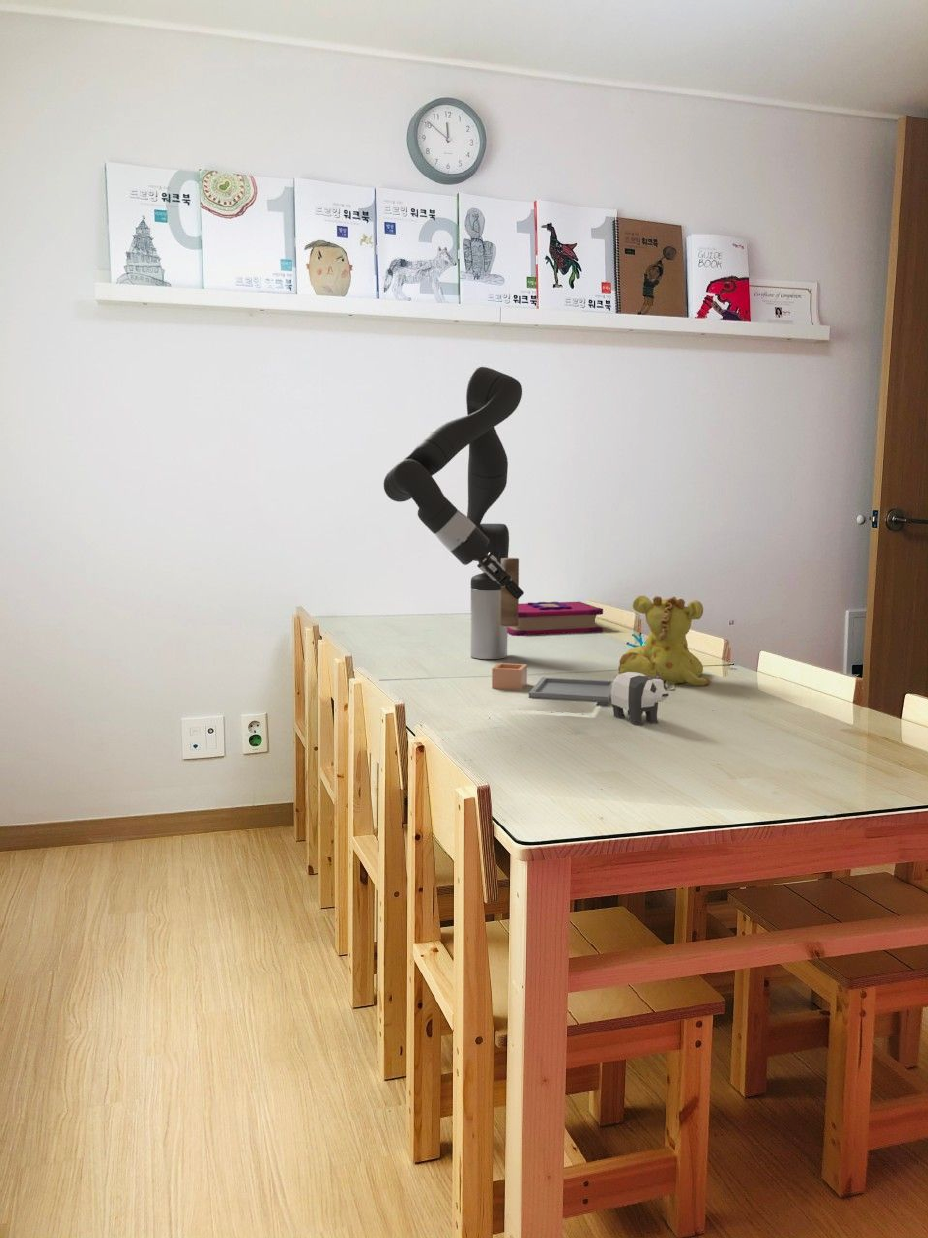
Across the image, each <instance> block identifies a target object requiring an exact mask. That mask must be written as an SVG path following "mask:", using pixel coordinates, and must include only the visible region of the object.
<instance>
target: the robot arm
mask: <svg viewBox="0 0 928 1238" xmlns="http://www.w3.org/2000/svg"><path fill="white" fill-rule="evenodd" d="M466 386H467V387H466V394H465V396H466V398H465V399H466V400H465V401H466V414H467V415H465V416H462V417H459V418H458V417H457V418H456V419H453V420H450V421H447V422H445V423H442V424H440V425H438V426H437V427H435V428H434V429H433V430H432V431H430V433H429V434H428V435H426V436H425V438H423V439H422V440H421V441H420V442H419V443H418V444H417V445H416V447H415V448H414V450H412V451H411V453H410V454H408V455H407V456H405V458H404V459H402V460H401V461H399V462H398V463H397V464H396V465H395V466H394V467H392V468H391V470H389V471H388V472H387V474H386V475H385V477H384V478H383V479H384V480H383V489H384V490H383V491H384V494H386V496H387V497H388V498H389V499H390V500H392V501H395V502H400V503H401V502H406V501H409V500H410V499H412V501H414V503H415V504H416V506H417V507H418V510H417V517H418V519H419V520H420V521H421V522H422V523H423V524H424V525H425V526H426V528H428V529H429V530H430V531H431V532H432V533H433V534H434V535H435V536H436V538H437V539H438V540H439V541H440V543H441V544H442V545H443V546H444V547H445V548H446V549H447V550H448V551H449V552H450V553H451V554H452V555H453V556H454V557H455V558H456V559H457V560H458V561H459V562H460V563H461V564H462V565H463V566H466V565H469V564H471V563H472V562H473V561H474V562H475V561H476V562H478V564H477V565H476V567H477V568H478V569H479V570H481V571H482V572H481V573H478V574H476V575H473V576H472V577H471V578H470V657H471V658H473V659H480V660H498V659H504V658H505V659H506V658H507V657H508V633H507V626H501V625H500V602H501V586H502V587H504V588H506V589H507V590H508V591H509V592H510V593H511V594H512V595H513V596H514V597H515V598H516V599H520V598H521V597H522V596H523V595H524V591H523V589H522V588H521V587H520V585H519V586H518V585H517V584H516V583H515V582H514V581H513V580H512V578H511V576H510V575H508V574H507V573H506V572H505V568H504V567H503V566H502V565H501V558H509V552H510V549H509V548H510V532H509V528H508V526H507V525H506V524H505V523H482V521H483V518H484V517H485V514H486V513H487V511H488V510H489V509H490V508H491V507H492V505H494V504H495V502H496V501H498V499H499V498H500V496H501V495H502V494H503V492H504V491H505V488H506V487H507V482H508V469H509V468H508V467H509V463H508V456H507V453H506V450H505V448H504V445H503V443H502V442H501V439H500V437H499V435H498V433H497V431H496V429H495V427H497V426H498V425H499V424H501V423H502V422H503V421H505V420H506V419H508V418H509V417H510V416H512V414H513V413H514V412H515V411H516V410H517V409H518V407H519V405H520V402H521V401H522V397H523V388H522V387H523V386H522V384H521V383H520V381H519V380H518V379H516V378H514V377H513V376H510V375H508V374H505V373H503V372H500V371H498V370H495V369H493V368H490V367H486V366H479V367H478V368H476V369H474V370H473V372H472V373H471V375H470V377H469V379H468V382H467V385H466ZM467 446H468V462H467V511H466V515H465V514H464V513H463V512H461V511H460V510H458V509H459V508H458V507H456V506H455V505H454V503H452V502H451V500H449V499H448V497H446V496H445V495H444V494H443V491H442V490H441V488H440V486H439V485H438V483H437V482H436V480H435V479H434V477H433V476H434V475H435V474H437V473H438V472H440V471H441V470H442V469H444V467H446V466H447V464H449V463H450V462H451V460H453V459H454V458H455V457H456V456H457V455H458V454H459V453H460V452H461V451H462V450H463V449H464V448H466V447H467ZM502 574H504V575H505V577H504V578H503V579H502V580H501V575H502Z"/></svg>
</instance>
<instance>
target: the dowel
mask: <svg viewBox="0 0 928 1238" xmlns="http://www.w3.org/2000/svg"><path fill="white" fill-rule="evenodd" d="M501 565H502V566H503V567H504V568H505V572H506V573H507V574H508V575H510V576H511V578H512V580H513V581H514V582H515V583H516V584H517V585H518V586H519V587H520V580H519V579H520V558H517V557H508V558H501ZM504 577H505V575H504V574H502V575H501V580H502V579H503V578H504ZM519 599H520V598H519ZM519 599H516V598H515V597H514V596H513V595H512V594H511V593H510V592H509V591H508V590H507V589H506V588H504V587H502V586H501V602H500V625H501V626H518V609H519V604H520V603H519V602H520V601H519Z"/></svg>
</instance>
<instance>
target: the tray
mask: <svg viewBox="0 0 928 1238" xmlns="http://www.w3.org/2000/svg"><path fill="white" fill-rule="evenodd" d="M613 681H614V680H605V679H603V680H602V679H584V678H583V679H582V678H564V677H563V678H562V677H546V676H545V677H544V676H543V677H541V678H540V680H539V681H538V682H537V683H536V684H535V685H534V686H533V687H532V688H531V689H530V690H529V692H528V698H530V699H546V700H547V699H548V700H562V701H563V700H565V701H578V702H579V701H580V702H581V701H582V702H583V701H584V702H597V703H596V706H607V707H608V706H610V703H611V688H612V683H613Z"/></svg>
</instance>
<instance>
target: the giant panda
mask: <svg viewBox="0 0 928 1238" xmlns="http://www.w3.org/2000/svg"><path fill="white" fill-rule="evenodd" d="M659 677H660V675H656V676H655V677H654V679H652V677H651V676H648V677H647V676H645V675H643V674H641V673H637V672H626V673H622V674H619V673H618V675H616V677H615V678H614V680H612V681H613V683H612V688H611V701H610V703H611V706H612V711H613V712H612V713H613V717H615V718H618V719H625V718H626V714H625V712H624V710H627V715H628V716H629V717H630V718H629V719H630V723H631V724H632V725H635V726H637V725H640V726H644V722H643V720H642V716H643V714H644V712H645V722H646V723H649V722H650V723H649V724H652V723H655V724H659V719H658V710H659V703H661V702H664V701H665V700H667V698H669V693H668V690H667V687H666V685H665V683H666V682H664V681H663V680H661V679H659Z"/></svg>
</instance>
